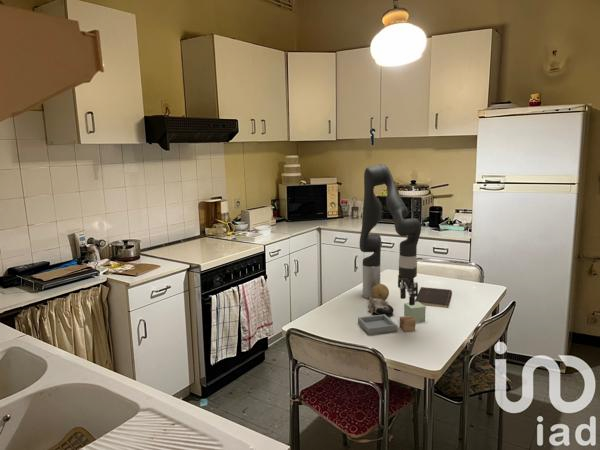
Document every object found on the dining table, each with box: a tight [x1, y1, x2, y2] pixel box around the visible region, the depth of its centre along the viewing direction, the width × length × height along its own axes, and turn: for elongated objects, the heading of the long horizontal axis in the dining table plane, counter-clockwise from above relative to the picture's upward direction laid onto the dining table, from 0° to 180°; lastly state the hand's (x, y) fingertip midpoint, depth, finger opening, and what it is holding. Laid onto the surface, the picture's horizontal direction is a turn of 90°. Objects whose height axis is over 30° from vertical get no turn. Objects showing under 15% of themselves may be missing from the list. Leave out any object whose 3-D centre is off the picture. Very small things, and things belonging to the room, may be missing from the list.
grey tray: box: [357, 314, 398, 336], centre depth 201 cm, size 13×13×3 cm
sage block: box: [403, 302, 426, 323], centre depth 208 cm, size 7×7×7 cm
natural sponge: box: [371, 283, 390, 302], centre depth 230 cm, size 9×9×10 cm
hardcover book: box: [415, 286, 453, 309], centre depth 235 cm, size 16×23×2 cm
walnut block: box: [399, 315, 416, 333], centre depth 198 cm, size 5×5×5 cm
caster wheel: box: [367, 296, 394, 318], centre depth 217 cm, size 7×11×10 cm
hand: (407, 301), depth 196 cm, fingers open, 8 cm apart
